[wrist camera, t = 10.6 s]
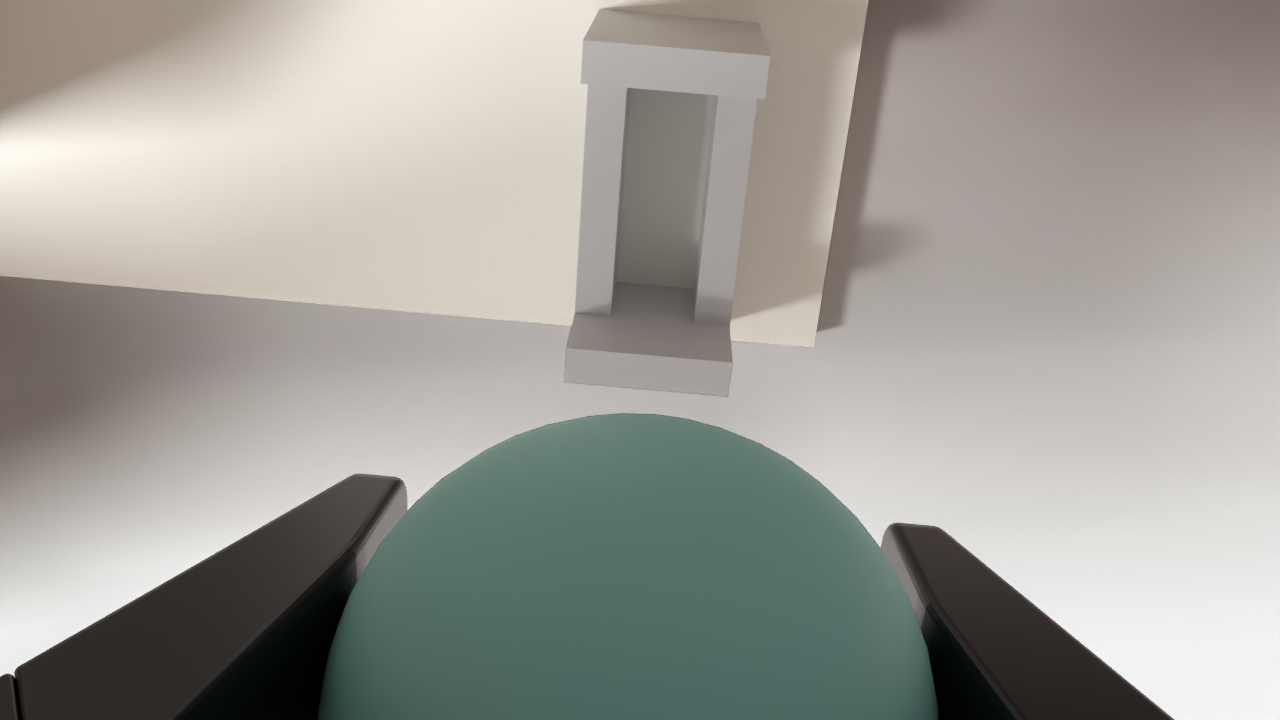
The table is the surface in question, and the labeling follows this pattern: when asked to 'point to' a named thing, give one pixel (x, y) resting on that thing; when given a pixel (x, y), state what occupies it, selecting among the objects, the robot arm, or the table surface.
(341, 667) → the teal ball
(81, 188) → the board
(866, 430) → the table surface
